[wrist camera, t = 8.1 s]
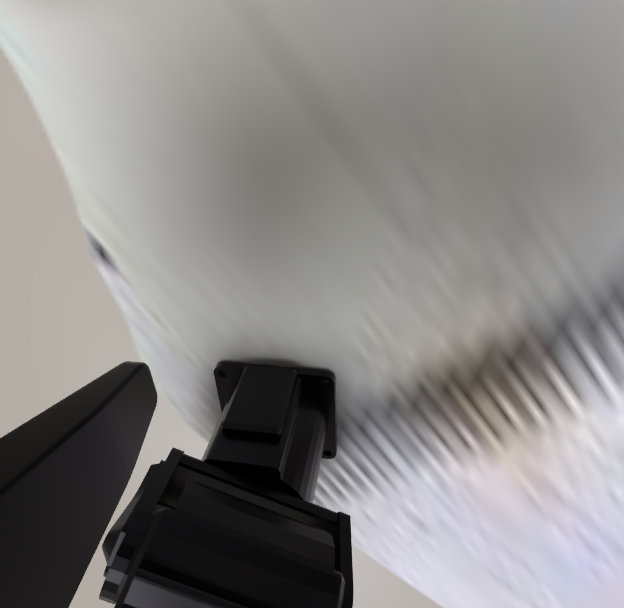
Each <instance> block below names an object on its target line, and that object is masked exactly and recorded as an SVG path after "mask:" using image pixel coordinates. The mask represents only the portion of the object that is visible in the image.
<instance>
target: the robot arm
mask: <svg viewBox="0 0 624 608" xmlns="http://www.w3.org/2000/svg"><path fill="white" fill-rule="evenodd" d="M222 370H223V371H225V372H223V371H222ZM214 376H215V381H216V386H217V391H218V396H219V400H220V405H221V410H222V414H221V416H220V419H219V421H218V423H217V426H216V428H215V430H214V433H213V435H212V437H211V440H210V442H209V444H208V447H207V449H206V451H205V454H204V456H203V458H202V460H199V459H196V458H193V457H191V456H188V455H186V454H184V451H181V450H178V449H176V448H173V449H172V450H171V452H170V454H169V456H168V457H167V459H166V461H163V460H161V462H160V463H159V464H154V465H151V466H150V468H149V470H148V472H147V474H146V476H145V478H144V480H143V482H142V484H141V486H140V487H139V489H138V491H137V493H136V494H135V496H134V498H133V499H132V501H131V502H130V503H129V505H128V506H127V507H126V509H125V510H124V512H123V513H122V514H121V516H120V517H119V519H118V520H117V522H116V523H115V524H114V525H113V527H112V528H111V530H110V531H109V533H108V534H107V536H106V538H105V540H104V543H103V545H102V549H103V552H104V555H105V559H106V562H107V566H106V569H105V572H104V576H105V577H106V579H105V581H104V584H103V587H102V589H101V592H100V596H99V599H101V600H104V601H106V602H109V603H112V604H116V605H115V607H114V608H352V605H353V571H352V547H351V524H350V515H347V514H344V513H342V512H338V513H336V512H334V511H331V510H328V509H326V508H323V507H321V506H318V505H315V504H313V498H314V493H315V488H316V483H317V478H318V473H319V468H320V462H321V458H326V459H332V458H334V457H335V456H336V452H337V422H336V378H335V376H334V375H333V374H332V373H331V372H328V371H321V370H310V369H299V368H288V367H276V366H265V365H254V364H243V363H232V362H219V363H218V364H217V365H216V367H215V369H214ZM323 380H327V381H329V382H325V381H323ZM156 403H157V392H156V389H155V385H154V382H153V379H152V376H151V372H150V369H149V367H148V366H147V364H145V363H141V362H130V361H127V362H123V363H122V364H120V365H118V366H116V367H115V368H113V369H112V370H110V371H108V372H107V373H105V374H104V375H102V376H100V377H99V378H97V379H96V380H94V381H92V382H91V383H89V384H87V385H86V386H84V387H82V388H81V389H79V390H78V391H76V392H74V393H73V394H71V395H70V396H68V397H66V398H65V399H63V400H61V401H60V402H58V403H57V404H55V405H53V406H52V407H50V408H48V409H47V410H45V411H44V412H42V413H40V414H39V415H37V416H36V417H34V418H32V419H31V420H29V421H28V422H26V423H24V424H23V425H21V426H19V427H18V428H17V429H15V430H13V431H11V432H10V433H8V434H7V435H5V436H3V437H2V438H0V608H68V607H69V605H70V603H71V601H72V599H73V597H74V595H75V593H76V591H77V589H78V586H79V584H80V582H81V580H82V578H83V576H84V574H85V572H86V570H87V567H88V565H89V563H90V561H91V559H92V557H93V555H94V553H95V551H96V549H97V547H98V545H99V542H100V540H101V538H102V536H103V534H104V532H105V530H106V528H107V526H108V524H109V522H110V520H111V517H112V515H113V513H114V511H115V509H116V507H117V505H118V503H119V500H120V499H121V496H122V494H123V492H124V490H125V488H126V486H127V484H128V481H129V479H130V477H131V474H132V471H133V469H134V467H135V464H136V461H137V458H138V455H139V453H140V450H141V447H142V444H143V441H144V438H145V436H146V432H147V430H148V427H149V424H150V422H151V418H152V416H153V413H154V410H155V407H156Z"/></svg>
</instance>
